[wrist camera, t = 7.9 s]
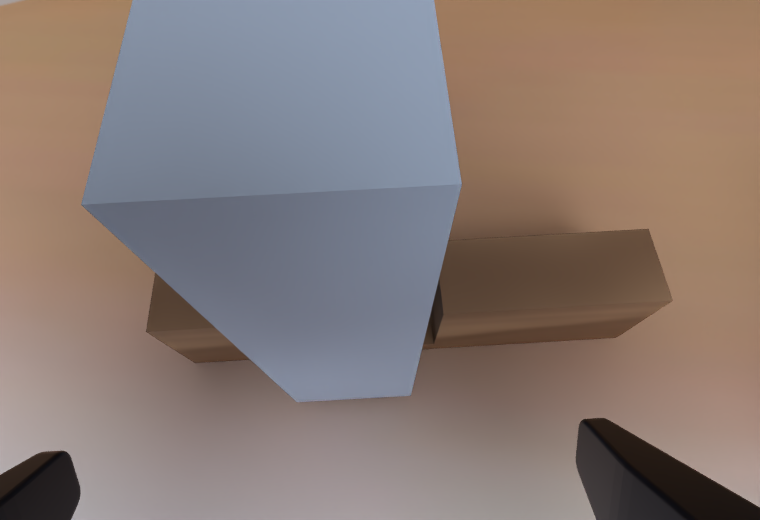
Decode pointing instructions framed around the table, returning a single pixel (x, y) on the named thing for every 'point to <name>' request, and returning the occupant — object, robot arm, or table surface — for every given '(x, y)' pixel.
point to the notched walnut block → (491, 294)
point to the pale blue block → (287, 178)
